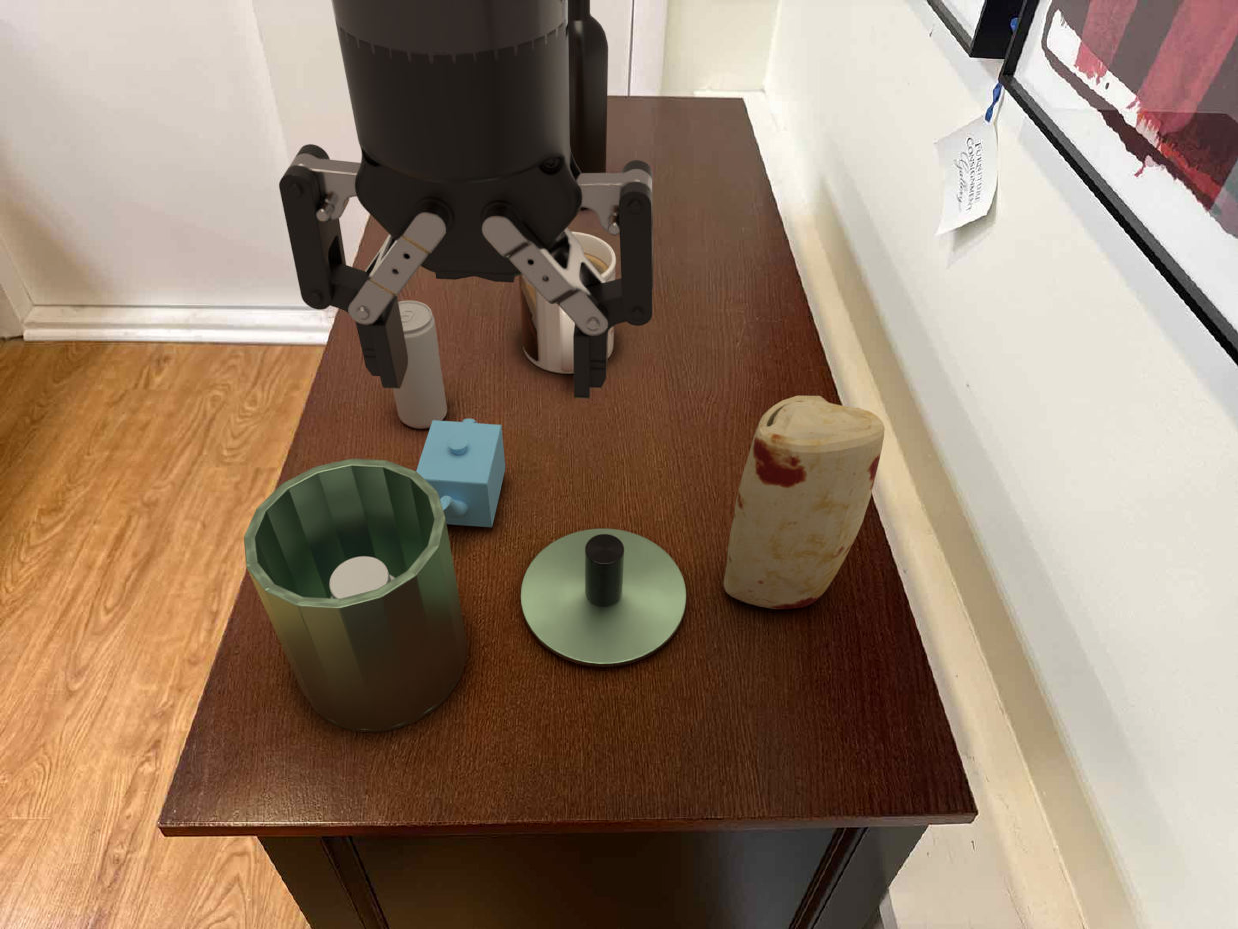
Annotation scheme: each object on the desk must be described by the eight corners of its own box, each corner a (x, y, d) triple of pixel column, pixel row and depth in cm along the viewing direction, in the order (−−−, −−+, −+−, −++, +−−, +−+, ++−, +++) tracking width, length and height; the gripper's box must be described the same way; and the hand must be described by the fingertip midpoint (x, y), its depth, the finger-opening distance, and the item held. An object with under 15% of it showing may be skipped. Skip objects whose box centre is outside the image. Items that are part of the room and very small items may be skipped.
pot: (451, 737, 63) (422, 612, 52) (279, 728, 64) (214, 601, 52) (478, 596, 72) (458, 463, 61) (327, 588, 72) (280, 454, 61)
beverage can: (390, 426, 86) (369, 326, 77) (410, 395, 89) (391, 295, 80) (437, 435, 85) (420, 335, 76) (455, 403, 88) (441, 304, 80)
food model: (726, 627, 71) (762, 450, 56) (712, 561, 75) (742, 382, 61) (845, 620, 71) (910, 443, 57) (824, 555, 76) (880, 377, 62)
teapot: (486, 565, 74) (478, 505, 69) (414, 559, 74) (401, 500, 69) (508, 463, 83) (503, 403, 77) (444, 459, 83) (434, 398, 77)
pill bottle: (397, 613, 70) (376, 534, 63) (433, 659, 67) (416, 582, 60) (334, 651, 67) (305, 573, 61) (369, 700, 65) (343, 624, 58)
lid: (686, 676, 67) (693, 627, 63) (511, 666, 68) (505, 617, 63) (684, 540, 77) (691, 488, 72) (531, 532, 77) (527, 480, 72)
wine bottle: (576, 182, 120) (574, -66, 99) (608, 195, 118) (614, -56, 97) (549, 198, 117) (541, -55, 96) (582, 212, 115) (581, -44, 93)
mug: (636, 341, 96) (641, 252, 88) (572, 401, 89) (571, 310, 81) (558, 307, 100) (556, 220, 92) (491, 362, 93) (482, 273, 85)
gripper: (188, 31, 26) (311, 431, 38) (671, 53, 26) (644, 447, 37) (270, -47, 31) (355, 324, 43) (671, -30, 31) (648, 339, 43)
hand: (490, 381), depth 40 cm, fingers open, 8 cm apart
